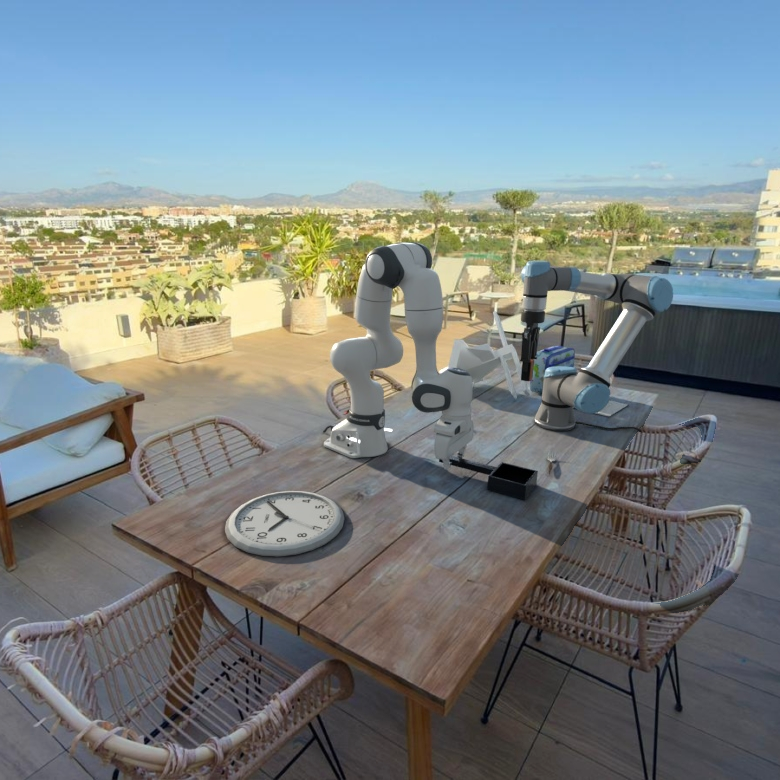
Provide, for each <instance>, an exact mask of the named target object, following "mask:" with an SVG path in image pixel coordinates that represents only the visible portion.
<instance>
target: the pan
mask: <svg viewBox="0 0 780 780" xmlns="http://www.w3.org/2000/svg"><path fill="white" fill-rule="evenodd" d="M449 461H450V463H451V466H453V467H456V468H460V469H464V470H468V471H472V472H475V473H480V474H482V475H487V487H486V490H487V491H489V492H493V493H497V494H499V495H504V496H507V497H510V498H514V499H518V500H522V501H526V499H527V498H528V497H529V495H530V494H531V493H532V491H533V490H534V489H535V488H536V486H537V482H538V475H539V474H538V473H539V471H538V470H535V469H532V468H527V467H523V466H519V465H515V464H511V463H507V462H503V461H501V462H500V463H499V464H498V465H497V466H493V465H489V464H485V463H482V462H477V461H474V460H469V459H465V458H458V457H457V456H454V455H452V456H451V457H450V459H449ZM438 463H441V464H444V463H443V461H442V460H441V459H438Z"/></svg>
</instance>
